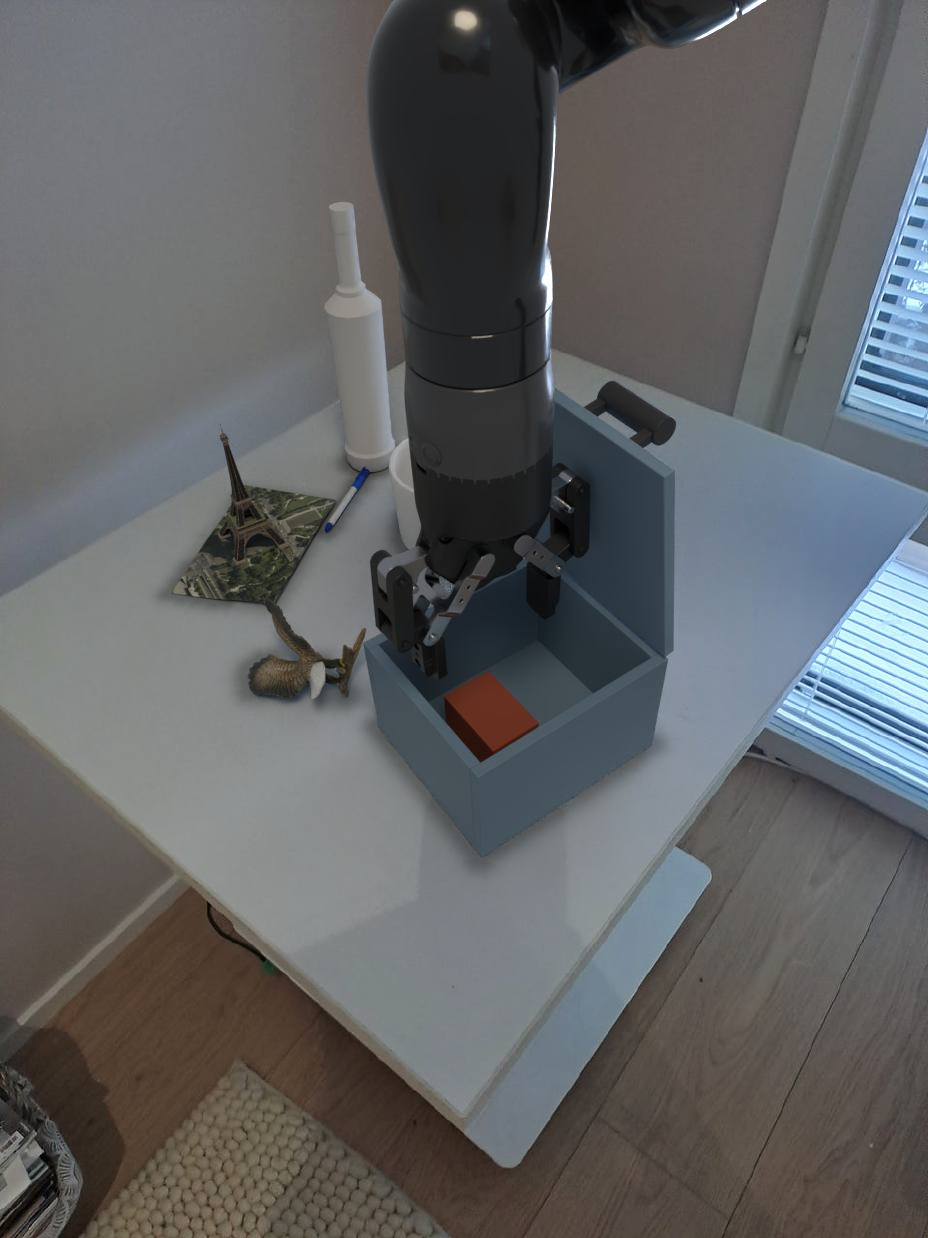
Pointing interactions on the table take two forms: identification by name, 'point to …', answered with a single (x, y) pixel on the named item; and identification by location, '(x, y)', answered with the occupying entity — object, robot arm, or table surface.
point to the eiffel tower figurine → (253, 542)
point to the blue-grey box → (542, 683)
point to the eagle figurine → (299, 664)
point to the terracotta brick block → (486, 716)
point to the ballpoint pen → (347, 498)
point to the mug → (404, 494)
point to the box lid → (623, 507)
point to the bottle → (358, 352)
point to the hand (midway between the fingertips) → (488, 639)
